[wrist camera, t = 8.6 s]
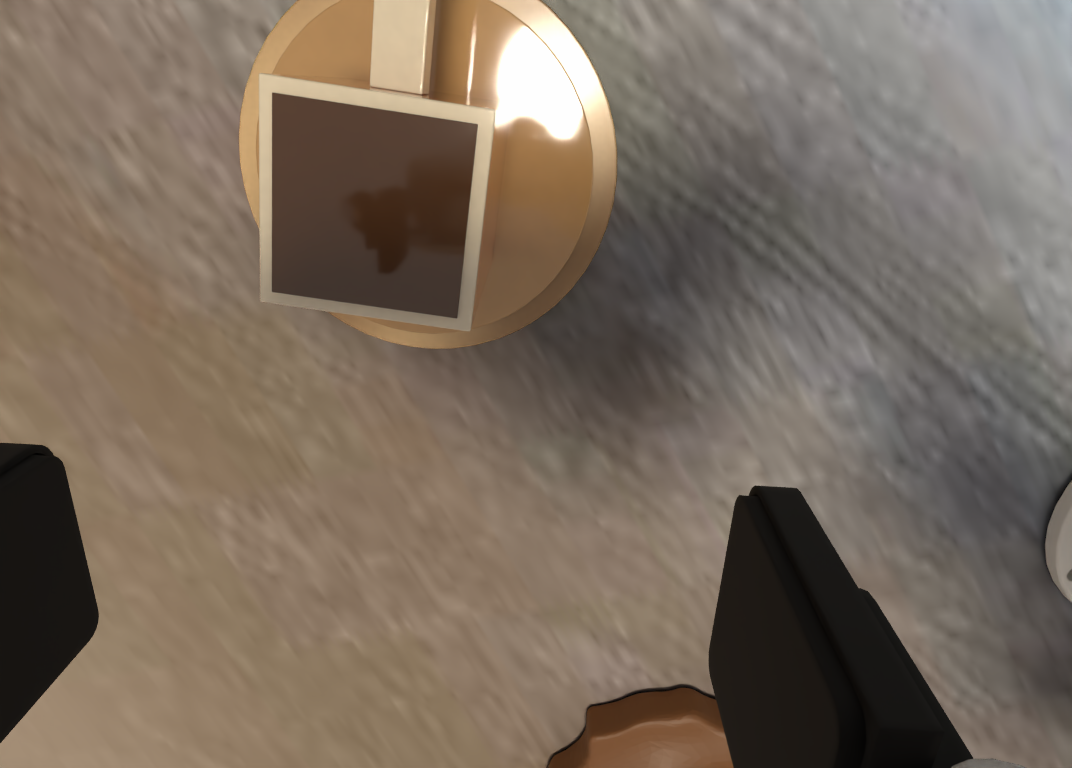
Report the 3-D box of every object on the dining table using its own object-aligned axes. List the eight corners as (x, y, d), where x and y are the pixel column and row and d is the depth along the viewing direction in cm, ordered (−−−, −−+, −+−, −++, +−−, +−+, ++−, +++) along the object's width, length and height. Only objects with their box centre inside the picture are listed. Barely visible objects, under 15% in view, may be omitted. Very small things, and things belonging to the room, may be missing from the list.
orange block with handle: (564, 349, 31) (571, 458, 22) (261, 306, 30) (139, 399, 21) (637, -79, 24) (690, -176, 15) (259, -143, 24) (85, -283, 15)
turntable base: (687, 106, 28) (694, 107, 27) (495, 396, 33) (493, 408, 32) (351, -132, 25) (341, -144, 24) (196, 224, 30) (181, 230, 29)
